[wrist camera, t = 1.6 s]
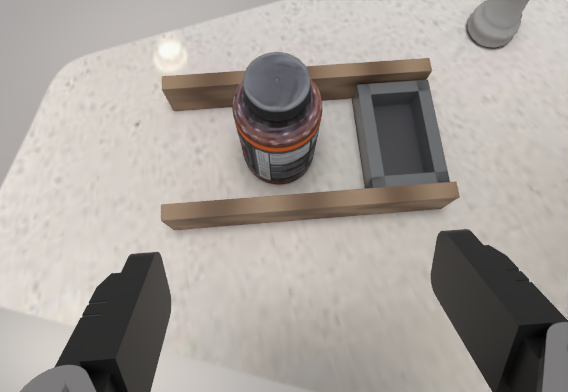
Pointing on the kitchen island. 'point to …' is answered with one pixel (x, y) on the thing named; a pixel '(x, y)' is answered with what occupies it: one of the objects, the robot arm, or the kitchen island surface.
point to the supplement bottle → (277, 117)
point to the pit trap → (398, 134)
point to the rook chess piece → (496, 21)
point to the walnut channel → (331, 85)
